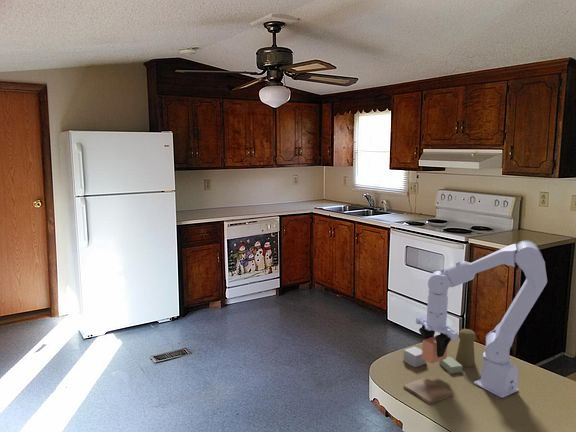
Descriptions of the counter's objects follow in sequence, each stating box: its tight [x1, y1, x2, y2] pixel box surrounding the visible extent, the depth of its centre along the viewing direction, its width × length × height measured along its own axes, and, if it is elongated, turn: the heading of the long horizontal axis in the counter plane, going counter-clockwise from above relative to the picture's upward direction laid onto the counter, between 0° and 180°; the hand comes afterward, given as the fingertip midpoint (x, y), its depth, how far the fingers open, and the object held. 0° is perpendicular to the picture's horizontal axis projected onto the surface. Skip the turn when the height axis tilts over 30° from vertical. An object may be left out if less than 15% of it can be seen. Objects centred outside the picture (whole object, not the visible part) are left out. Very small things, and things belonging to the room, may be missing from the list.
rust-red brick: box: [421, 335, 448, 364], centre depth 145 cm, size 4×6×6 cm, turn 122°
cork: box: [455, 328, 477, 368], centre depth 153 cm, size 6×6×11 cm
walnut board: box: [403, 376, 453, 405], centre depth 136 cm, size 10×9×1 cm
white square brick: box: [403, 346, 427, 368], centre depth 153 cm, size 5×5×4 cm
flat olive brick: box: [438, 356, 463, 374], centre depth 150 cm, size 6×4×2 cm, turn 15°
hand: (434, 353), depth 145 cm, fingers closed on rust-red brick, 4 cm apart
